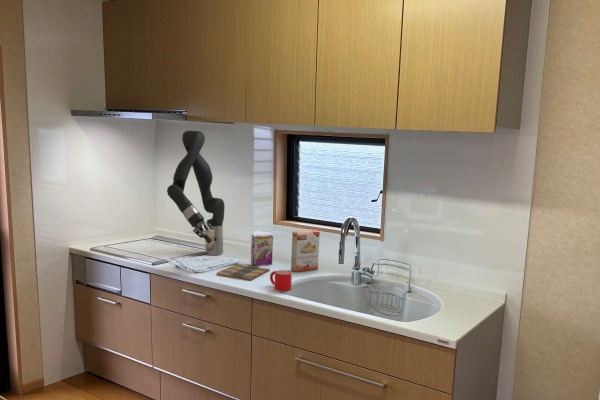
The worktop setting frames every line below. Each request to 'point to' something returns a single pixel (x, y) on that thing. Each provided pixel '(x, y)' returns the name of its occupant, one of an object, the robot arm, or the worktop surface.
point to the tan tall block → (211, 245)
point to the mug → (281, 280)
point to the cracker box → (305, 250)
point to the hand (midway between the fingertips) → (212, 241)
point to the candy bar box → (261, 249)
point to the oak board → (243, 272)
